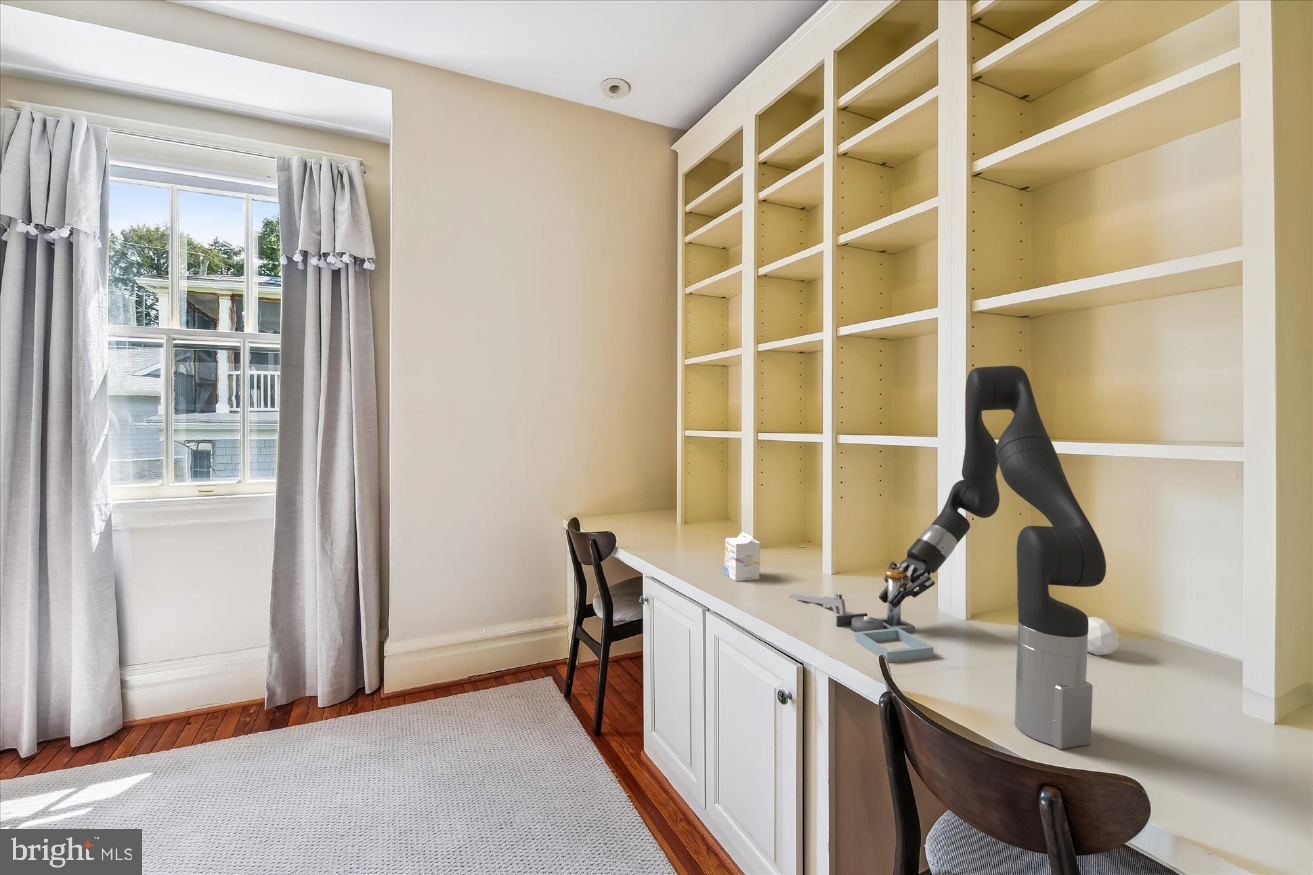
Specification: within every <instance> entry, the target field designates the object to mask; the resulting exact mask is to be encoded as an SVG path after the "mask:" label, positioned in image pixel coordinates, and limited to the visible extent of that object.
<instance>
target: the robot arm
mask: <svg viewBox="0 0 1313 875" xmlns="http://www.w3.org/2000/svg"><path fill="white" fill-rule="evenodd" d="M965 383H966V384H965V392H964V393H965V400H964V401H965V402H964V405H965V406H964V414H965V415H964V421H965V422H964V423H965V424H964V427H965V430H964V431H965V443H964V444H965V447H964V455H963V461H962V467H961V468H962V469H961V476H962V479H961V480H959V481H957V482H955V483H954V484H953V485H952V487H951V488H950V489H951V490H950V492H949V495H948V498H947V500H946V502H945V504H944V506H943V508H942V510H941V512H940V513H939V515H938V516H937V517H936V518H935V520H934V521H932V523H931V524H930V525H929V526H927V528H926V529H924V530H923V532H922V533H921V534H920V535H919V537H918V538H917V539H916V540H915V541H914V543H913V544H912V545H911V546H910V547H909V548H908V549H907V551H906V558H905V559H903V560H902V561H901V562H900V563H896V562H895V561H890V563H889V565H888V568H887V569H897V570H902V571H904V572H905V578H902V585H901V587H900V589H899V590H900V591H899V590H897V591H896V593H895V594H894V595H893V596H892V597H891V599H890V600H889V604H890V605H891V606H892V607H894V608H897V606H899V605H900V604H901V605H902V602H903V601H905V599H906V598H909V597H912V598H913V599H915V598H916V597H919V596H920V595H921V594H923V593H925V592H926V591H927V590H929V589H930V588H931V587H934V586H935V584H936V582H935V581H934V579H933V578H932V577H931V574H935V573H936V572H938V570H939V569H940V567H942V565H943V564H944V563H945V561H946V560H947V559H948V558H949V557H950V555H951V554H952V553H953V552H954V550H955V548H956V547H957V545H958V544H959V543H960V541H961V540H962V539H964V537H965V536H966V535H967V533H968V532H969V530H970V528H971V523H970V522H969V520H968V519H967V517H965V516H964V515H963V514H962V513H960V512H959V509H962V510H963V511H966V512H968V513H970V514H972V515H973V516H976V517H978V518H981V519H987V518H990V517H992V516H993V515H994V514H996V512H997V511H998V509H999V507H1000V491H999V486H998V485H999V484H998V480H997V471H998V467H999V469H1000V472H1001V475H1002V477H1003V481H1004V482H1005V483H1006V484H1007V486H1008V487H1009V488H1010V489H1011V490H1012V491H1013V492H1014V493H1015V494H1017V495H1018V496H1019V497H1020V498H1021V499H1023V500H1024V501H1025V502H1027V503H1028V504H1030V505H1031V506H1032V507H1034V508H1035V509H1036V510H1037V511H1039V512H1040V513H1041V514H1042V515H1043V516H1044V517H1045V518H1046V519H1047V520H1048V522H1049V523H1050V524H1051V525H1050V526H1049V525H1048V526H1047V525H1046V526H1045V525H1028V526H1027V525H1026V526H1025V527H1023V528H1022V529H1021V530H1020V532H1019V534H1018V536H1017V540H1016V574H1017V575H1016V576H1017V577H1016V578H1017V584H1016V585H1017V590H1016V591H1017V597H1016V598H1017V609H1018V616H1017V638H1016V640H1017V642H1016V670H1015V671H1016V673H1015V674H1016V675H1015V700H1014V702H1015V703H1014V704H1015V705H1014V706H1015V708H1014V724H1015V726H1016V728H1017V729H1018V730H1019V731H1020V732H1022V733H1023V734H1025V735H1027V736H1028V737H1030V738H1033V739H1034V740H1037V741H1040V742H1042V743H1044V744H1049V745H1051V746H1054V747H1055V748H1057V749H1059V750H1063V749H1068V748H1069V749H1070V748H1075V747H1080V746H1087V745H1091V742H1092V740H1091V738H1092V719H1093V718H1092V717H1093V716H1092V715H1093V714H1092V713H1093V687H1094V686H1093V684H1092V683H1091V682H1089V681H1087V670H1088V667H1087V666H1088V665H1087V664H1088V652H1087V647H1088V625H1089V623H1088V616H1087V614H1086V613H1085V612H1084V611H1082V610H1081V609H1079V608H1078V607H1075V606H1074V605H1070V604H1069V603H1066V602H1065V603H1064V602H1062V601H1061V600H1057V599H1055V598H1054V597H1052V596H1050V590H1049V586H1061V587H1072V588H1073V587H1075V588H1090V587H1096V586H1099V585H1100V584H1102V582H1103V581H1104V579H1105V577H1106V573H1107V562H1106V561H1107V560H1106V557H1105V555H1106V554H1105V552H1104V550H1103V546H1102V544H1101V542H1100V539H1099V537H1098V535H1097V533H1096V532H1095V530H1094V527H1093V526H1092V525H1091V522H1090V520H1089V519H1088V517H1087V516H1086V514H1085V513H1084V510H1083V509H1082V507H1081V506H1080V504H1079V502H1078V501H1077V500H1078V499H1077V498H1076V497H1075V494H1074V492H1073V490H1072V488H1071V486H1070V484H1069V481H1068V479H1067V477H1066V474H1065V472H1064V469H1063V467H1062V464H1061V461H1060V459H1059V456H1058V453H1057V451H1056V449H1055V447H1054V445H1053V442H1052V441H1051V439H1050V437H1049V434H1048V432H1047V430H1046V428H1045V425H1044V423H1043V420H1042V418H1041V416H1040V415H1041V414H1040V413H1039V409H1038V406H1037V401H1036V400H1035V396H1034V392H1033V390H1032V385H1031V382H1030V378H1029V376H1028V373H1027V372H1026V371H1025V370H1024V368H1022V366H1021V367H1020V366H1019V365H1018V366H1017V365H1000V366H999V365H998V366H997V365H996V366H993V365H992V366H980V367H975V368H973V369H971V370H970V372H969V373H968V375H967V377H966V382H965ZM1001 410H1003V411H1005V410H1009V411H1011V412H1012V413H1013V416H1012V419H1011V421H1010V422H1009V424H1008V425H1007V427H1006V428H1005V430H1004V431H1003V432H1002V434H1001V435H1000V437H999V439H998V441H997V442H996V440H995V439H994V436H992V434H991V433H990V432H989V429H988V428H987V427H986V425H985V422H984V421H983V420H984V419H983V411H1001ZM883 581H884V582H885V583H886V585H885V587H884V589H883V590H882V591H881V592H880V593H879V596H878V598H879V600H880V601H881V602H882V603H884V604H887V597H888V577H887V576H885V575H884V577H883Z"/></svg>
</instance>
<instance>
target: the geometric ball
mask: <svg viewBox="0 0 1313 875" xmlns="http://www.w3.org/2000/svg"><path fill="white" fill-rule="evenodd" d="M1087 617H1088V616H1087ZM1088 623H1089V625H1088V647H1087V653H1089V654H1092V655H1096V656H1107V655H1108V656H1109V655H1110V654H1112V653H1114V652H1115V651H1116V650H1117V649H1118V647H1119V643H1120V637H1119V636H1120V635H1119V634H1118V630H1117V628H1116V627H1115V626H1114V625H1113V624H1111V623H1110V622H1109V621H1107V620H1105V619H1104V618H1103V619H1102V618H1100V617H1096V616H1091V617H1088Z"/></svg>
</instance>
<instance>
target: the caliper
mask: <svg viewBox="0 0 1313 875" xmlns="http://www.w3.org/2000/svg"><path fill="white" fill-rule="evenodd" d="M788 597H790V598H792V599H794V600H796V599H797V601H803V602H809V603H810V602H811V603H815V604H821V605H822V607H823V608H827V609H828V608H832V610H833V613H834V614H839V615H846V604H845V603H846V602H845V598H843V595H842V594H841V593H840V594H839V593H835V594H834V597H833V596H826V595H825V596H815V595H810V594H809V595H808V594H802V593H801V594H800V593H797V592H795V593H791V594H789V595H788Z"/></svg>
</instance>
